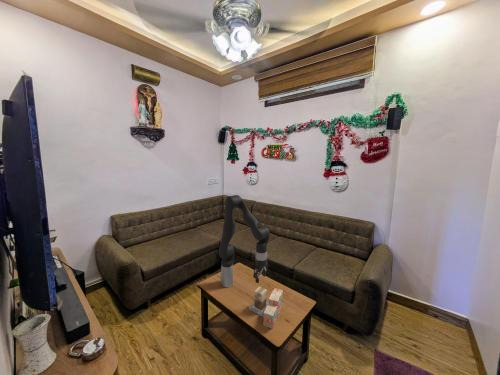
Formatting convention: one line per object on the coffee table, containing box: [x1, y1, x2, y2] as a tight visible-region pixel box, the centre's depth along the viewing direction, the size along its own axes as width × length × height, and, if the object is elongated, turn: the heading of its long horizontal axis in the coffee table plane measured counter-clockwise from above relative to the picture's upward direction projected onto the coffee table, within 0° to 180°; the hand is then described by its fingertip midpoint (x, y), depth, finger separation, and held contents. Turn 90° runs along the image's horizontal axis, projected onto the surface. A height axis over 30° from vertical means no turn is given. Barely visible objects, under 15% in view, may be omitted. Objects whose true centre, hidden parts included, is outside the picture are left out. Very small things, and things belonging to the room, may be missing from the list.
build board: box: [248, 301, 269, 318], centre depth 143 cm, size 11×12×1 cm
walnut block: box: [253, 298, 267, 310], centre depth 142 cm, size 6×6×6 cm
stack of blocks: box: [262, 287, 284, 330], centre depth 136 cm, size 21×6×12 cm, turn 155°
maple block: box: [253, 285, 268, 302], centre depth 141 cm, size 6×6×6 cm
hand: (260, 279), depth 139 cm, fingers open, 8 cm apart
